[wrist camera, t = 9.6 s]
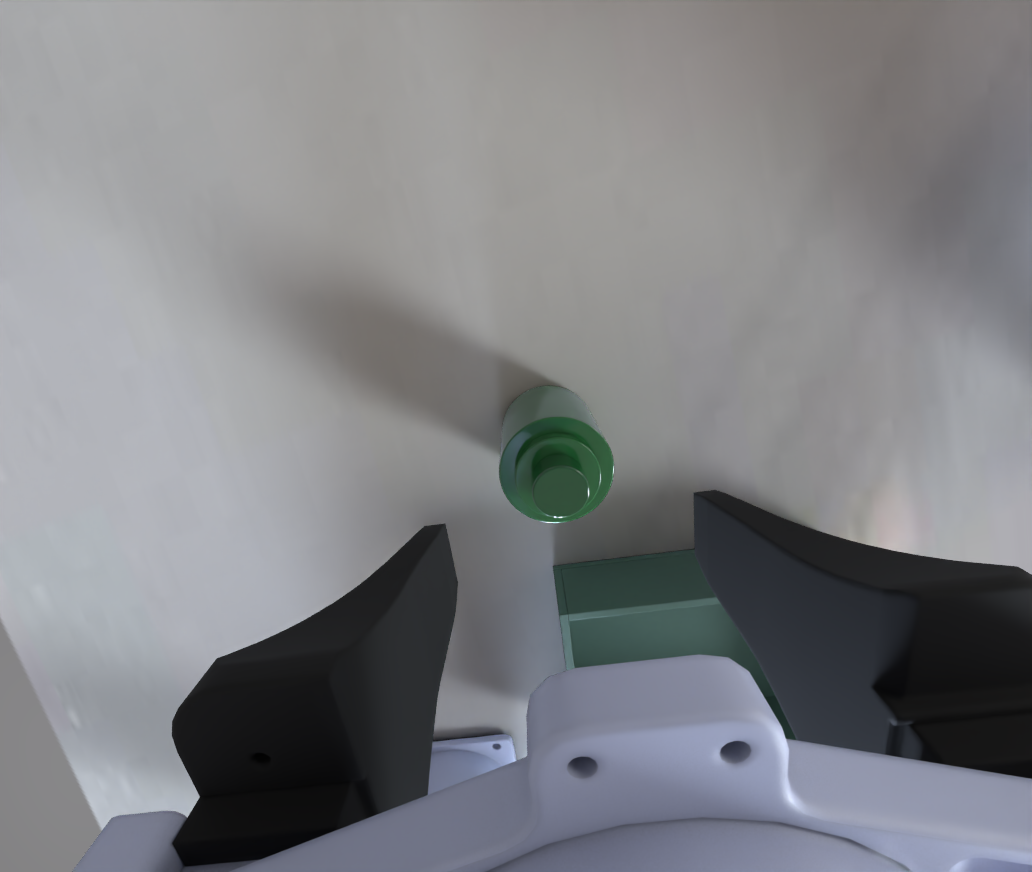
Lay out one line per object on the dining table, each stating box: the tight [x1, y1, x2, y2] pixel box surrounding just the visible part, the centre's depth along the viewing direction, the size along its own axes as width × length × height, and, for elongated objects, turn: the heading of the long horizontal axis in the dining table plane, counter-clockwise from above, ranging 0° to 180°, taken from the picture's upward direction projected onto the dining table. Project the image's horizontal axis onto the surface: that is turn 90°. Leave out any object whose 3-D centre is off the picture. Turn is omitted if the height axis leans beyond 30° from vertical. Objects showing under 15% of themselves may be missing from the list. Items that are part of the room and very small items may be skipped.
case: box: [553, 549, 796, 740], centre depth 25 cm, size 11×14×4 cm
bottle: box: [499, 386, 614, 523], centre depth 20 cm, size 4×4×7 cm
